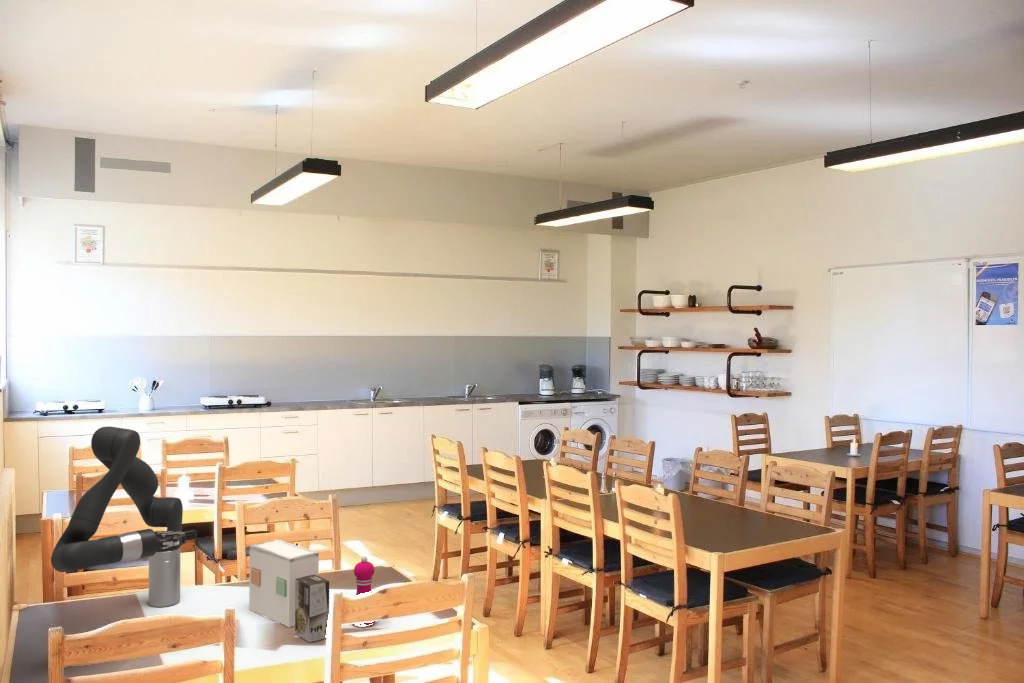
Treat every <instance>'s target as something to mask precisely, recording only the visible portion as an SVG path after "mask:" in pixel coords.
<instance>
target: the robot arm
mask: <svg viewBox="0 0 1024 683" xmlns="http://www.w3.org/2000/svg"><path fill="white" fill-rule="evenodd" d="M90 441H91V442H90V445H91V446H90V447H91V450H92V454H93V456H94V457H95V458H96V459H97V460H98V461H99V462H100V463H101V464H103V466H105V467H106V468H107V469H108V471H107V472H106V474H105V475H104V476H102V478H101V479H99V481H97V482H96V483H95V484H94V485H93V486H91V487H90V488H89V489H88V490H87V491H85V493H84V494H82V496H81V497H80V498H79V500H78V502H77V504H76V506H75V508H74V511H73V513H72V515H71V517H70V520H69V522H68V525H67V527H66V528H65V530H64V531H63V533H61V534H62V535H61V536H60V538H59V540H58V541H57V543H56V545H55V546H54V548H53V550H52V553H51V556H50V563H51V564H50V565H51V566H52V568H53V569H54V570H55V571H56V572H59V573H69V572H75V571H81V570H84V569H87V568H88V569H89V568H92V567H96V566H103V565H109V564H110V565H111V564H115V563H121V562H130V561H135V560H141V559H145V558H148V605H149V606H151V607H152V608H153V607H155V608H164V607H165V608H166V607H170V606H174V605H176V604H177V605H178V604H179V603H180V602H181V546H183V545H185V544H187V542H186V541H190V540H195V539H197V538H198V531H197V530H195V529H192V530H186V531H183V530H182V529H183V528H182V526H183V512H184V509H183V508H184V507H183V503H182V500H181V499H180V498H178V497H160V496H159V497H157V496H154V495H155V494H156V492H157V491H158V487H159V479H158V476H157V474H156V473H155V471H154V470H153V468H152V467H151V466H150V465H149V464H148V463H147V462H146V461H144V460H143V459H141V458H139V457H137V456H138V453H139V451H140V450H139V449H140V447H141V436H140V434H139V432H138V431H137V430H134V429H129V428H124V427H123V428H122V427H117V426H116V427H115V426H109V425H108V426H102V427H100V428H99V427H98V429H97V430H95V432H94V433H93V434H92V437H91V440H90ZM119 486H121V487H122V489H123V490H124V491H125V493H126V494H127V495H128V496H129V498H130V499H131V500H132V502H133V504H135V506H136V509H137V510H138V513H139V514H140V516H141V519H142V520H143V522H144V523H145V524H146V525H147V526H148V527H151V528H146V529H139V530H136V531H135V530H134V531H129V532H123V533H121V534H117V535H112V536H106V537H100V538H98V539H93V540H91V538H92V537H93V536H95V534H96V533H97V531H98V529H99V526H100V524H101V521H102V520H103V516H104V514H105V513H106V509H107V507H108V506H109V503H110V501H111V500H112V498H113V496H114V494H115V492H116V491H117V489H118V488H119ZM153 528H166V530H156V531H154V530H153Z"/></svg>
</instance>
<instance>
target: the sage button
mask: <svg viewBox="0 0 1024 683" xmlns="http://www.w3.org/2000/svg"><path fill="white" fill-rule="evenodd" d="M276 594H279V595H281V596H284V597H285V596H286V594H287V581H286V580H284V579H281V578H276Z"/></svg>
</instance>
